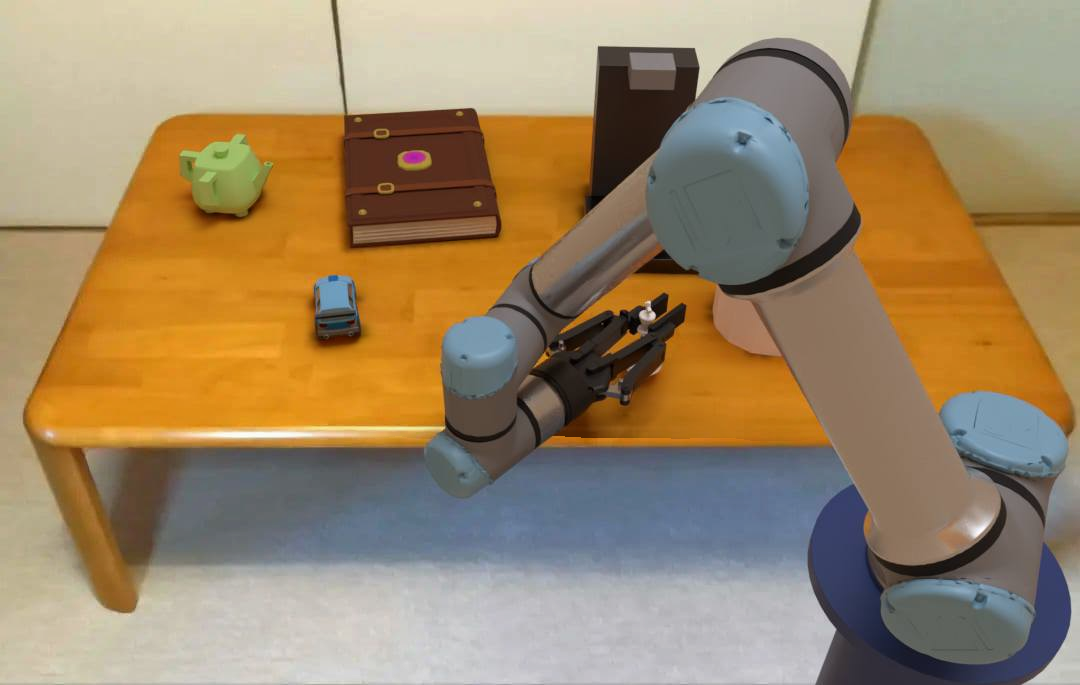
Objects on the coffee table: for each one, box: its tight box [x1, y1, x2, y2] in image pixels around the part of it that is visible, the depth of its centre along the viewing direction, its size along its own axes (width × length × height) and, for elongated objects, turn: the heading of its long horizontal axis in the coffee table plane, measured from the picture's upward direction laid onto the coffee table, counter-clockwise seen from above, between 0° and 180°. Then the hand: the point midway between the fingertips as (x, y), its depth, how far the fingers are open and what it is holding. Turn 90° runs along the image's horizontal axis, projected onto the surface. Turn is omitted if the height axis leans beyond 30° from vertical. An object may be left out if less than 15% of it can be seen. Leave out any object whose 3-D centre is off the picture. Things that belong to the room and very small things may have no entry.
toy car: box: [313, 274, 362, 341], centre depth 135 cm, size 6×12×6 cm, turn 11°
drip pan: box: [583, 194, 699, 275], centre depth 151 cm, size 16×16×2 cm
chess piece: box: [625, 300, 663, 376], centre depth 125 cm, size 5×5×10 cm
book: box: [342, 107, 502, 248], centre depth 160 cm, size 23×32×5 cm
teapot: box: [178, 133, 275, 218], centre depth 154 cm, size 12×12×10 cm
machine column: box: [588, 45, 701, 196], centre depth 149 cm, size 11×14×26 cm
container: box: [712, 283, 782, 358], centre depth 132 cm, size 14×14×18 cm
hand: (673, 307), depth 128 cm, fingers closed on chess piece, 2 cm apart
